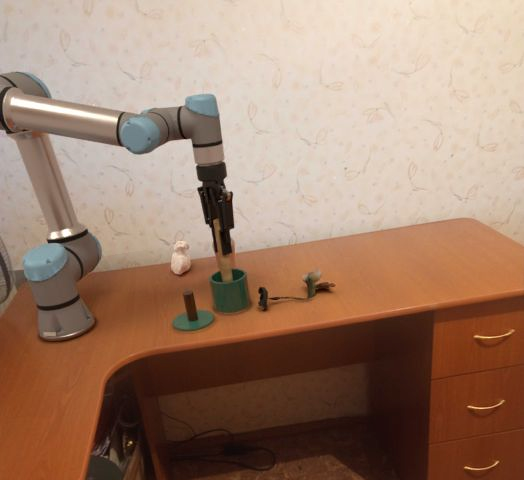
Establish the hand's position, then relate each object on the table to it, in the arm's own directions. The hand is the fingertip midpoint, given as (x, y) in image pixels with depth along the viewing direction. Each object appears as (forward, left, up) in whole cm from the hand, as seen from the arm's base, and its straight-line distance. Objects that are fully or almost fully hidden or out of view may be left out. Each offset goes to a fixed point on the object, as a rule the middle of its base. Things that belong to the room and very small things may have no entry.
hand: (223, 252), depth 144 cm
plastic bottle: (-9, +8, -17) cm, 20 cm away
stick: (0, 0, -11) cm, 11 cm away
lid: (-2, -13, -16) cm, 20 cm away
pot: (0, 0, -16) cm, 16 cm away
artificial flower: (+13, +13, -17) cm, 25 cm away
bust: (-36, +11, -17) cm, 41 cm away
